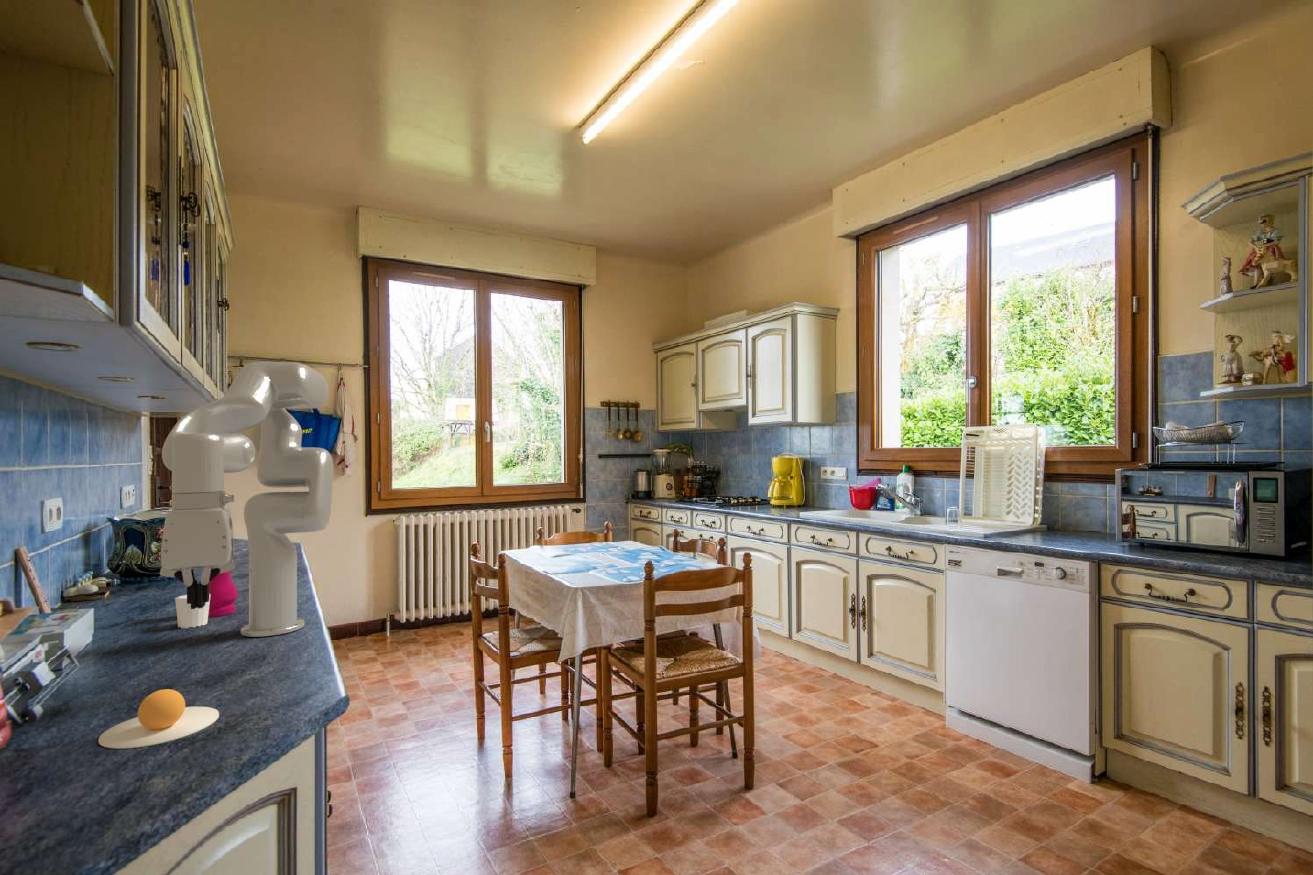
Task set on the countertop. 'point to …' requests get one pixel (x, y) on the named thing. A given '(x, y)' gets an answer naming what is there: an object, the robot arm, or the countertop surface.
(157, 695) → the ball
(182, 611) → the white fluted cup
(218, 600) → the pepper mill
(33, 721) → the countertop surface
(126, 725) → the disc
